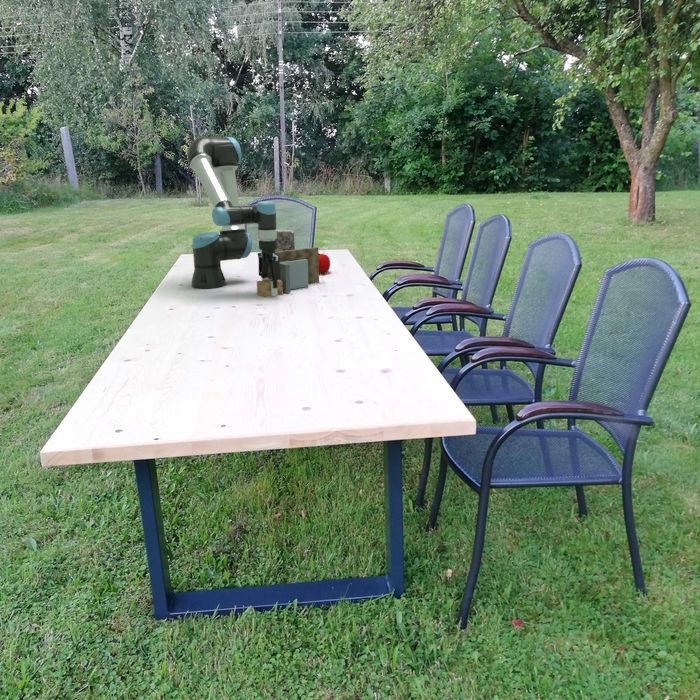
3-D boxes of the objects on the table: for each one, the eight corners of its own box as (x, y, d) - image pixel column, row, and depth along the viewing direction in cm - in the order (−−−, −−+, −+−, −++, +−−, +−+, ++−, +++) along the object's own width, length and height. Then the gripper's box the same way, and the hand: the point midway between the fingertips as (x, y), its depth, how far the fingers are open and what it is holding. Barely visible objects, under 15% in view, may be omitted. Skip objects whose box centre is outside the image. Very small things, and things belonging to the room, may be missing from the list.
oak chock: (275, 292, 273) (274, 278, 272) (282, 294, 269) (282, 280, 267) (257, 295, 268) (256, 281, 266) (264, 297, 264) (264, 283, 262)
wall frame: (267, 290, 277) (265, 253, 272) (264, 289, 278) (263, 253, 273) (319, 282, 293) (318, 247, 288) (316, 281, 295) (315, 247, 290)
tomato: (336, 273, 315) (335, 252, 312) (317, 276, 306) (316, 255, 303) (320, 270, 322) (320, 250, 319) (301, 273, 314) (301, 252, 311)
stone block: (269, 270, 321) (267, 231, 315) (269, 268, 328) (268, 229, 322) (295, 270, 322) (294, 230, 316) (295, 267, 329) (294, 229, 323)
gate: (286, 292, 270) (285, 264, 267) (278, 290, 275) (277, 262, 271) (314, 288, 279) (314, 261, 275) (306, 285, 284) (305, 259, 280)
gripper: (288, 241, 257) (289, 296, 263) (263, 236, 271) (266, 289, 278) (272, 242, 252) (274, 299, 259) (248, 238, 266) (251, 291, 273)
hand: (270, 294), depth 268 cm, fingers open, 6 cm apart
